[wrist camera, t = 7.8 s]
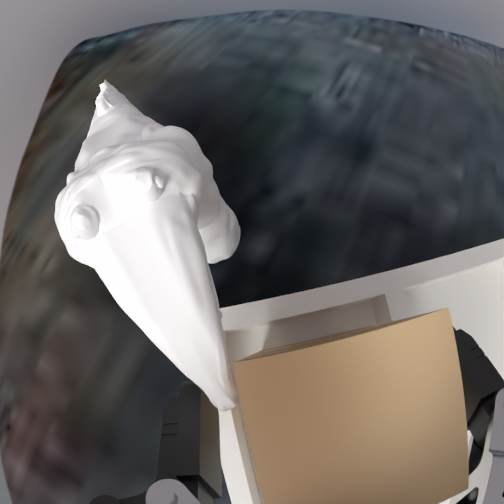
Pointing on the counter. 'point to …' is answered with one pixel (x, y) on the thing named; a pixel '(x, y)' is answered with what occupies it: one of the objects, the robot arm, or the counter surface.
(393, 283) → the tray
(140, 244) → the dinosaur statue
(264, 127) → the counter surface
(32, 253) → the counter surface
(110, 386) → the counter surface
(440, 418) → the oak block
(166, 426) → the robot arm
